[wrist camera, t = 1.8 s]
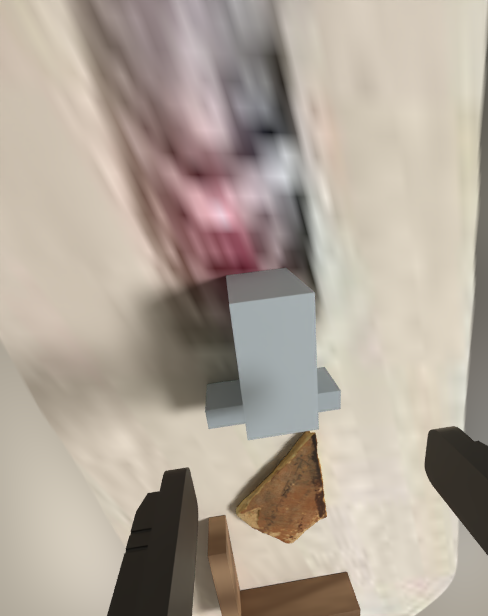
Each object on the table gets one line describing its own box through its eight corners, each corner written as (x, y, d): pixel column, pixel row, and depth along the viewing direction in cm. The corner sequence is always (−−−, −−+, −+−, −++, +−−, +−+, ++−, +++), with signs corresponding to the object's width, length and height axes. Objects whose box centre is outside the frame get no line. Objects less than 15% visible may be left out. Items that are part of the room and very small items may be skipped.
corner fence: (208, 518, 26) (207, 556, 23) (348, 494, 26) (364, 529, 23) (227, 602, 30) (228, 642, 27) (346, 580, 30) (360, 618, 28)
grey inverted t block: (188, 280, 18) (174, 311, 13) (322, 262, 19) (367, 285, 13) (209, 400, 22) (206, 467, 16) (324, 383, 22) (361, 443, 16)
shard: (309, 420, 24) (316, 436, 22) (370, 457, 26) (381, 475, 24) (231, 501, 26) (232, 521, 24) (293, 529, 28) (298, 550, 26)
